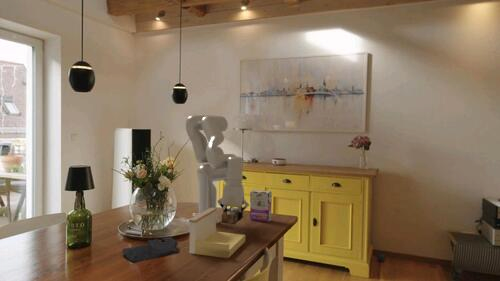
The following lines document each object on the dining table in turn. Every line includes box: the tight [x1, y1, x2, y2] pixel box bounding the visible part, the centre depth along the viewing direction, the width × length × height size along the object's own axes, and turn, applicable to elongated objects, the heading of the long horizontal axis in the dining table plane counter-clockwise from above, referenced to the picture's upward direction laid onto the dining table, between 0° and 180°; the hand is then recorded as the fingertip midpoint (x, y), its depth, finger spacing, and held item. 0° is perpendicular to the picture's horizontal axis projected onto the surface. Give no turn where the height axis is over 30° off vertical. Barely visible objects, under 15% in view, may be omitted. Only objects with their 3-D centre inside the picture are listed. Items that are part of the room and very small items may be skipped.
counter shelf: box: [188, 207, 246, 259], centre depth 155 cm, size 17×23×14 cm
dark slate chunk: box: [121, 235, 181, 264], centre depth 148 cm, size 15×22×5 cm
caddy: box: [221, 206, 244, 225], centre depth 173 cm, size 6×12×5 cm, turn 163°
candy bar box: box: [249, 189, 273, 223], centre depth 199 cm, size 11×5×16 cm, turn 67°
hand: (232, 218), depth 173 cm, fingers closed on caddy, 6 cm apart
